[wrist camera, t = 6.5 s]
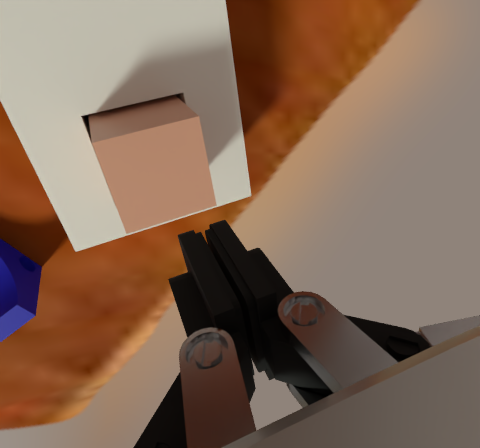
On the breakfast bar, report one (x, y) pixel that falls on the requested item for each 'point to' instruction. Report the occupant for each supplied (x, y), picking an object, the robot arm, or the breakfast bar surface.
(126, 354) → the breakfast bar surface
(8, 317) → the blue curved piece
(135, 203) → the dusty pink cube
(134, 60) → the block
